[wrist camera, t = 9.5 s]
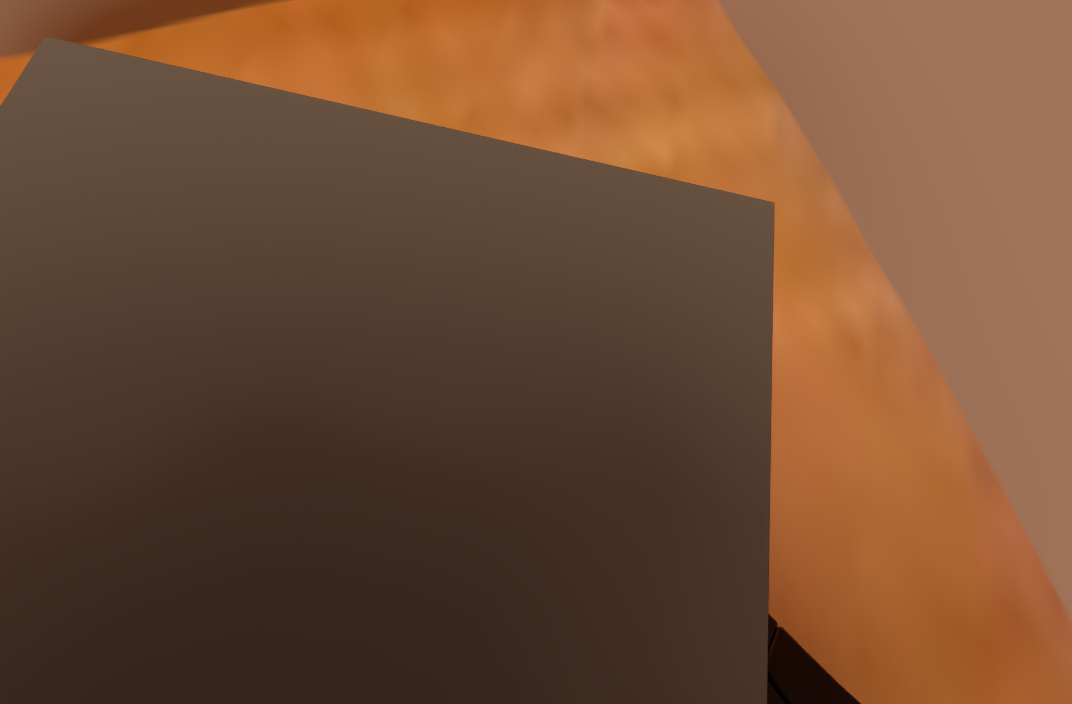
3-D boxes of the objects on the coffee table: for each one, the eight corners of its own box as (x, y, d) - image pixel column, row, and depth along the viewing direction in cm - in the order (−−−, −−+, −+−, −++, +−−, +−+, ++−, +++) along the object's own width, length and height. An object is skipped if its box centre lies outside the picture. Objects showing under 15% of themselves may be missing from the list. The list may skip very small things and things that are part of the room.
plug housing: (502, 714, 14) (765, 1235, 3) (263, 675, 13) (-636, 1085, 2) (540, 479, 16) (777, 201, 5) (333, 439, 15) (44, 34, 4)
